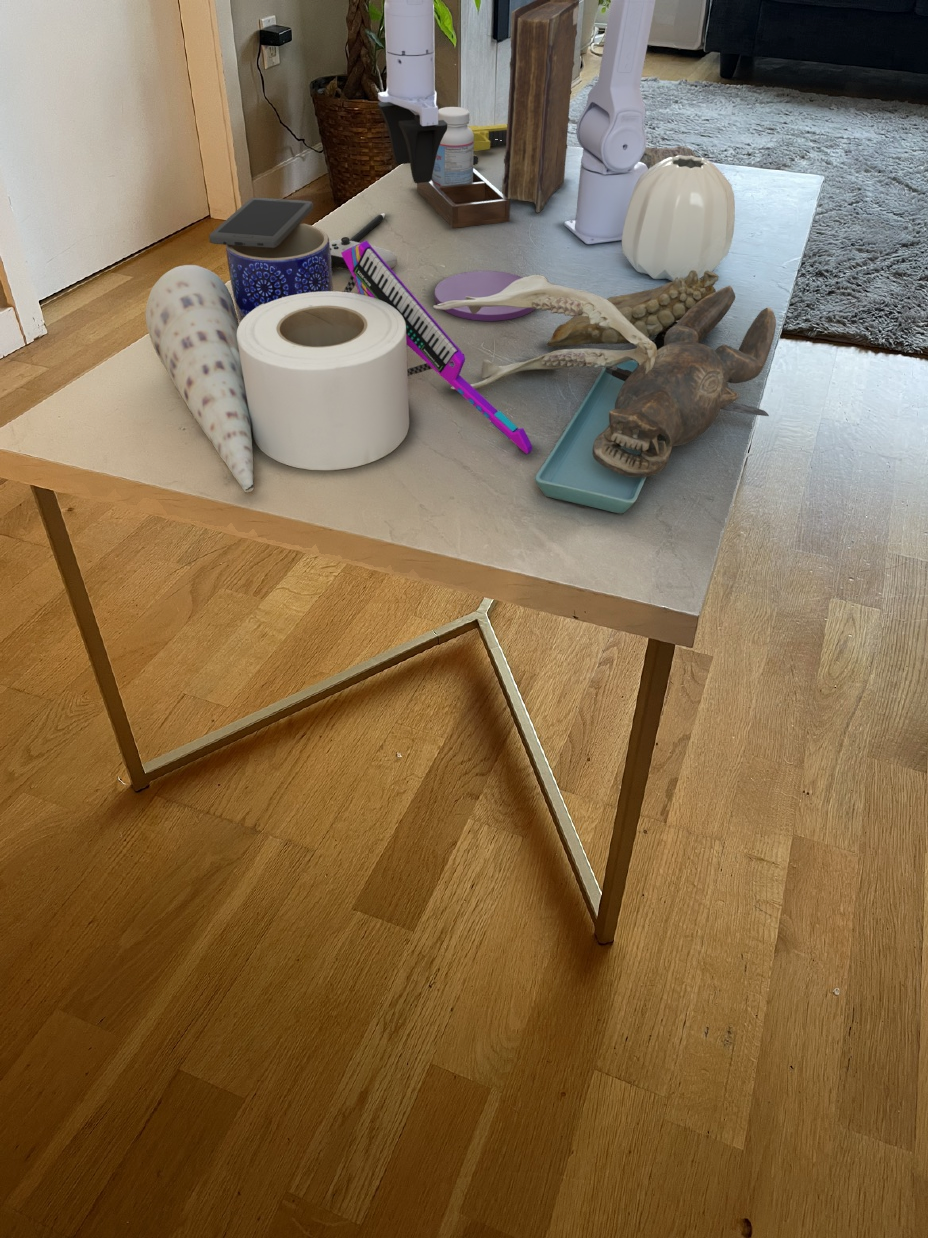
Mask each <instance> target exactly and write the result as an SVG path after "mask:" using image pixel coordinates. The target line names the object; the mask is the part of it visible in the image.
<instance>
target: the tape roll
mask: <svg viewBox="0 0 928 1238" xmlns="http://www.w3.org/2000/svg"><path fill="white" fill-rule="evenodd" d="M238 324H239V326H238V329H237V342H238V348H239V354H240V360H241V366H242V372H243V378H244V384H245V390H246V396H247V402H248V408H249V413H250V424H251V433H252V438H253V440H254V443H255V444H256V446H257V447H258V449H259V450H260V451H261V452H262V453H264V454H265V455H266V456H267V457H269V458H271V459H272V460H274V461H275V462H276V461H277V462H278V463H281V464H283V465H287V466H289V467H293V468H297V469H302V470H309V471H339V470H345V469H351V468H357V467H360V466H361V467H362V466H364V465H368V464H370V463H373V462H376V461H378V460H380V459H382V458H384V457H386V456H387V455H389V454H391V453H392V452H394V451H395V450H396V449H397V448H398V447H399V446H400V445H401V444H402V443H403V442H404V440H405V438H406V437H407V435H408V432H409V430H410V429H409V428H410V409H409V403H410V402H409V378H408V377H409V376H408V373H407V369H408V352H407V351H408V348H407V347H408V345H407V344H406V324H405V320H404V318H403V316H402V315H401V314H400V313H399V311H398V310H396V309H395V308H394V307H392V306H391V305H389V304H388V303H386V302H384V301H381V300H379V299H376V298H373V297H370V296H366V295H361V294H359V293H355V292H351V293H349V292H344V291H334V290H333V291H323V292H309V293H302V294H296V295H291V296H287V297H283V298H279V299H277V300H274V301H271V302H268V303H266V304H261V305H259V306H258V307H256V308H255V309H253V310H252V311H251V312H250V313H248V314H247V315H246V316H245V317H244V318H243V319H242V321H241V322H240V321H239V323H238Z"/></svg>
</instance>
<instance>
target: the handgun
mask: <svg viewBox="0 0 928 1238" xmlns="http://www.w3.org/2000/svg"><path fill="white" fill-rule="evenodd" d="M467 126H468V127H469V128H470V129H471V130H472V131H473V134H474V152H478V151H486V150H491V147H492V146H502V145H506V139H507V123H503V124H502V123H501V124H493V125H491V124H489V125H480V126H479V125H477V124H476V125H467ZM495 139H498V140H495ZM500 140H502V141H500ZM478 163H479V156H478V155H476V154H474V157H473V167H474V166H476V165H478Z"/></svg>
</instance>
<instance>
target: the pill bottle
mask: <svg viewBox="0 0 928 1238" xmlns="http://www.w3.org/2000/svg"><path fill="white" fill-rule="evenodd" d="M438 120H444V121H445V122H446V123H447V131H446V133H445V134H444V136H443V138H442V140H441V143H440V145H439V148H438V151H437V155H436V160H435V164H434V170H433V174H432V181H433V182H434V183H435V184H436V185H437V186H447V185H456V184H465V183H473V168H474V166H473V157H474V155H475V153H474V152H475V151H474V134H473V131H472V130H471V129H470V128H469V127H468V126H469V123H470V111H469V110H468V108H465V107H460V106H445V107H440V108H438Z"/></svg>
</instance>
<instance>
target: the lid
mask: <svg viewBox="0 0 928 1238" xmlns="http://www.w3.org/2000/svg"><path fill="white" fill-rule="evenodd" d="M521 278H524V277H523V276H521V275H518V274H514V273H510V272H505V271H497V270H473V271H465V272H461V273H460V272H459V273H455V274H453V275H451V276H450V275H449V276H448V277H446V278H444V279H442V280H440V281H439V282H438V284H437V285H436V287H435V288H434V302H435V303H436V305H438V304H441V303H444V302H448V301H452V300H466V299H465V297H466V296H468V297H475V298H479V297H488V296H492V295H495V294H497V293H500V292H501V291H503V290H504V289H505V288H506V287H508V286H509V285H510V284H511V283H512V282H514V281H516V280H518V279H521ZM442 310H443V311H444V312H446V313H448V314H450V315H452V316H455V317H458V318H462V319H466V320H471V321H480V322H482V321H483V322H484V321H485V322H499V321H500V322H501V321H509V320H514V319H518V318H522V317H524V316H526V315H528V314H530V313H532V312H533V311H535V309H534V308H517V307H507V306H491V307H481V309H480V310H479V311H478V312H477V313H475V314H473V313H471V311H470V309H469V307H468V306H466V307H457V308H451V309H447V310H444V309H442Z"/></svg>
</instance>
